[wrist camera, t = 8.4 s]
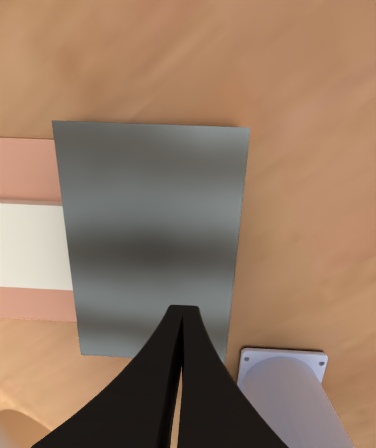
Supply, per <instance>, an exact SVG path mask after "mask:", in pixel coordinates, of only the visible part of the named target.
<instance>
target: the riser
mask: <svg viewBox="0 0 376 448" xmlns="http://www.w3.org/2000/svg"><path fill="white" fill-rule="evenodd" d="M52 127H53V135H54V143H55V151H56V159H57V167H58V175H59V183H60V191H61V199H62V207H63V215H64V223H65V231H66V239H67V247H68V255H69V263H70V271H71V279H72V287H73V295H74V303H75V311H76V319H77V327H78V335H79V343H80V351H81V355H93V356H110V357H127V358H134V357H135V356H136V355H137V354H138V352H139V351H140V350H141V348H142V347H143V346H144V345H145V343H146V342H147V341H148V339H149V338H150V337H151V335H152V334H153V332H154V331H155V329H156V328H157V326H158V325H159V323H160V321H161V320H162V318H163V316H164V315H165V313H166V311H167V309H168V307H169V306H170V305H193V306H198V307H199V309H200V314H201V317H202V320H203V323H204V326H205V328H206V331H207V333H208V335H209V337H210V340H211V342H212V344H213V346H214V348H215V350H216V352H217V353H218V355H219V357H220V359H221V361H222V362H223V363H225V359H226V350H227V340H228V331H229V322H230V313H231V303H232V294H233V285H234V275H235V266H236V257H237V248H238V238H239V229H240V220H241V210H242V201H243V192H244V183H245V173H246V164H247V155H248V145H249V136H250V128H246V127H218V126H190V125H162V124H134V123H106V122H78V121H52Z"/></svg>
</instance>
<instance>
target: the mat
mask: <svg viewBox="0 0 376 448" xmlns="http://www.w3.org/2000/svg"><path fill="white" fill-rule="evenodd" d="M0 199H15V200H38V201H60V202H62V199H61V191H60V183H59V175H58V167H57V159H56V151H55V143H54V140H49V139H22V138H0ZM0 318H13V319H31V320H49V321H67V322H77V319H76V311H75V303H74V295H73V290H56V289H37V288H18V287H0Z"/></svg>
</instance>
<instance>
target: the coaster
mask: <svg viewBox="0 0 376 448" xmlns="http://www.w3.org/2000/svg"><path fill="white" fill-rule="evenodd" d="M0 287H18V288H37V289H56V290H73V287H72V279H71V271H70V263H69V255H68V247H67V239H66V231H65V223H64V215H63V207H62V202H60V201H38V200H15V199H0Z"/></svg>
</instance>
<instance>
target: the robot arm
mask: <svg viewBox="0 0 376 448" xmlns="http://www.w3.org/2000/svg"><path fill="white" fill-rule="evenodd" d="M245 357H247V358H245ZM327 361H328V357H327V355H326V354H325V353H323V352H310V351H293V350H275V349H258V348H244V349H243V350H242V351H241V358H240V365H239V373H238V380H237V384H236V383H235V381H234V380H233V378H232V377H231V375H230V374H229V372H228V371H227V369H226V367H225V366H224V364H223V362H222V361H221V359H220V357H219V355H218V353H217V352H216V350H215V348H214V346H213V344H212V342H211V340H210V337H209V335H208V333H207V331H206V328H205V326H204V323H203V320H202V317H201V314H200V309H199V307H198V306H193V305H170V306H169V307H168V309H167V311H166V313H165V315H164V316H163V318H162V320H161V321H160V323H159V325H158V326H157V328H156V329H155V331H154V332H153V334H152V335H151V337H150V338H149V339H148V341H147V342H146V343H145V345H144V346H143V347H142V348H141V350H140V351H139V352H138V354H137V355H136V356H135V357H134V358H133V359H132V361H131V362H130V363H129V364H128V365H127V366H126V367H125V368H124V369H123V371H122V372H121V373H120V374H119V375H118V376H117V377H116V378H115V379H114V380H113V381H112V382H111V383H110V384H109V385H108V386H107V387H105V388H104V389H103V390H102V391H101V392H100V393H99V394H98V395H97V396H96V397H94V398H93V399H92V400H91V401H90V402H88V403H87V404H86V405H85V406H84V407H83V408H81V409H80V410H79V411H78V412H77V413H76V414H74V415H73V416H72V417H71V418H69V419H68V420H67V421H65V422H64V423H63V424H61V425H60V426H59V427H57V428H56V429H55V430H53V431H52V432H51V433H49V434H48V435H47V436H45V437H44V438H43V439H41V440H40V441H38V442H37V443H36V444H34V445H33V446H32V447H31V448H170V444H171V433H172V425H173V417H174V411H175V405H176V399H177V392H178V386H179V380H180V373H181V367H182V398H181V410H180V422H179V434H178V445H177V448H355V446H354V445H353V443H352V441H351V439H350V437H349V435H348V433H347V432H346V430H345V428H344V426H343V424H342V422H341V421H340V419H339V417H338V415H337V413H336V411H335V409H334V408H333V406H332V404H331V402H330V400H329V398H328V396H327V395H326V393H325V391H324V389H323V387H322V385H321V383H322V379H323V375H324V372H325V368H326V364H327Z"/></svg>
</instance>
